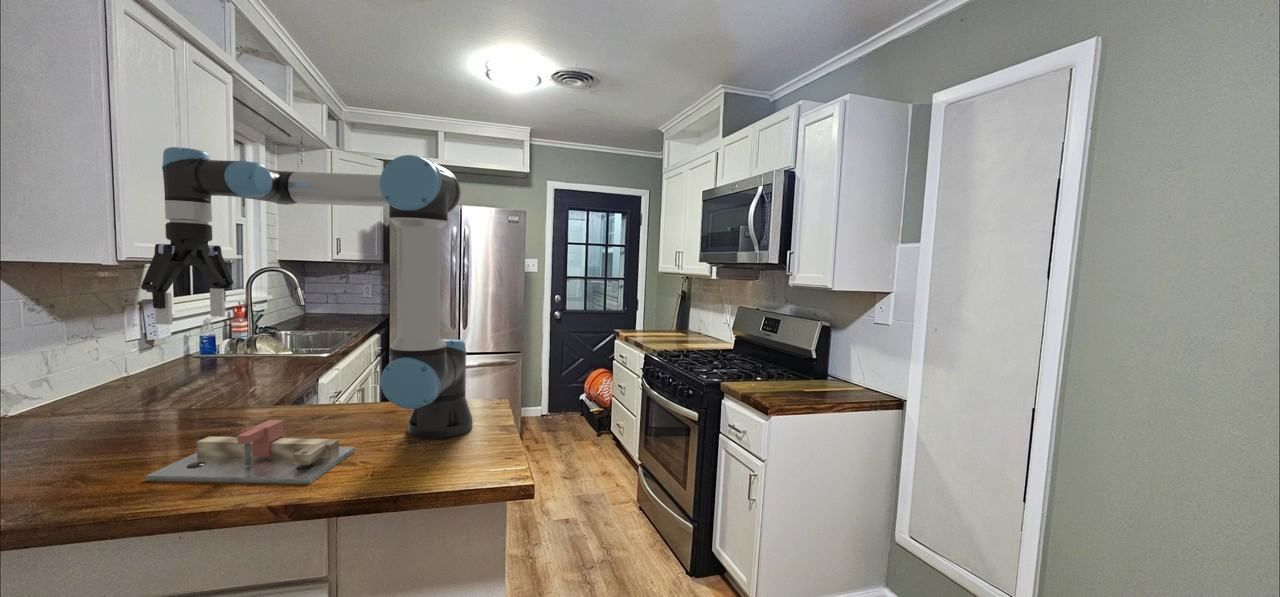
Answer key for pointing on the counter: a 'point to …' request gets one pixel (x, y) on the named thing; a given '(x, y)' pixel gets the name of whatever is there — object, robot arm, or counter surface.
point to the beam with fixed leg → (273, 448)
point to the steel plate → (246, 469)
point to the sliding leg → (261, 438)
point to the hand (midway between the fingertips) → (192, 320)
